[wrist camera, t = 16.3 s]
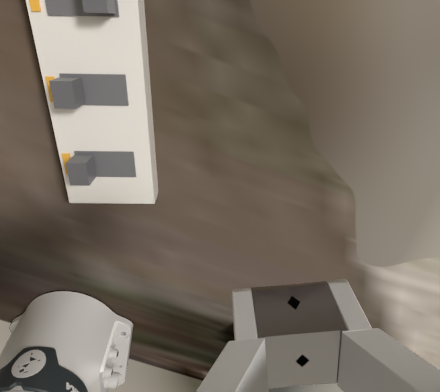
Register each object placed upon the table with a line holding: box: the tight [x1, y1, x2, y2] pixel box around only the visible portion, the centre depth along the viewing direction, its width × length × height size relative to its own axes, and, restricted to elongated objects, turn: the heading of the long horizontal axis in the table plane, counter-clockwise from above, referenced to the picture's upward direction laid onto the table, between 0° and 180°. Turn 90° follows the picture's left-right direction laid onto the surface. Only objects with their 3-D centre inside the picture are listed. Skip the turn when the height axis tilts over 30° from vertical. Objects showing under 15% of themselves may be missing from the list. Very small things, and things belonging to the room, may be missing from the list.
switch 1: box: [66, 155, 97, 186], centre depth 36 cm, size 2×2×2 cm
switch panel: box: [26, 0, 158, 204], centre depth 35 cm, size 26×10×3 cm, turn 179°
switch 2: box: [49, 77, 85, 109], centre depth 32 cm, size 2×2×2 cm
